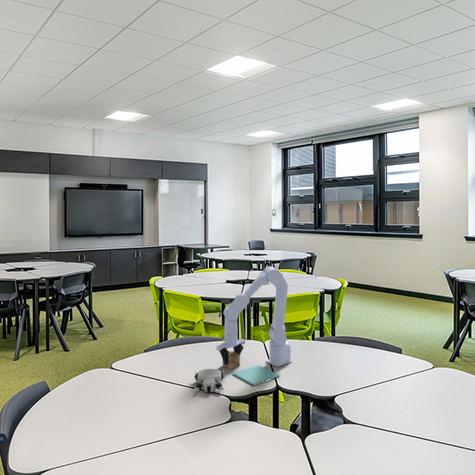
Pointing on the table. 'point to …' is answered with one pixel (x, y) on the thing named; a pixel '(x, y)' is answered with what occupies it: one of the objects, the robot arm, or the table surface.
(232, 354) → the walnut cube
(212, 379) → the robot toy
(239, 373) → the teal board
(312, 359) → the table surface
